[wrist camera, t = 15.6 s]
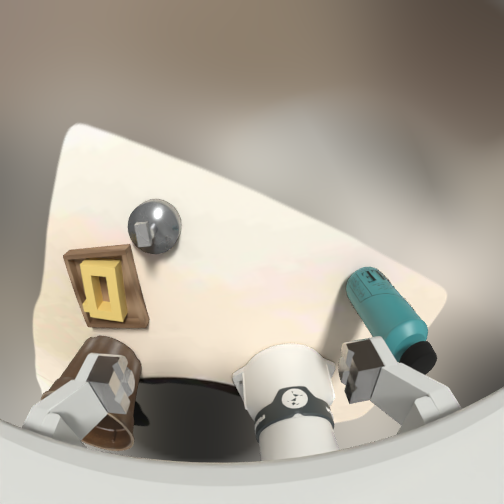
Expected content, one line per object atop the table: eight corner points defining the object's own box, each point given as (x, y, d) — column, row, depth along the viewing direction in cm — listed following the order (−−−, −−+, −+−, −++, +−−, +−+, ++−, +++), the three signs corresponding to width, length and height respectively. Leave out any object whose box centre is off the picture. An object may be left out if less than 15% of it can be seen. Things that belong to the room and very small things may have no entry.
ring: (121, 259, 39) (114, 267, 36) (127, 312, 42) (122, 321, 40) (82, 256, 38) (74, 263, 36) (91, 307, 42) (85, 316, 40)
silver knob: (184, 246, 39) (176, 266, 33) (137, 250, 39) (123, 269, 33) (177, 196, 36) (167, 208, 31) (128, 202, 36) (110, 215, 31)
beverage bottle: (345, 303, 44) (396, 398, 26) (337, 268, 42) (396, 362, 23) (381, 288, 44) (444, 373, 25) (376, 253, 41) (450, 334, 23)
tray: (149, 319, 44) (146, 327, 42) (92, 319, 43) (87, 327, 41) (130, 244, 39) (124, 250, 37) (69, 249, 38) (62, 255, 36)
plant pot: (148, 396, 52) (132, 460, 37) (77, 371, 49) (50, 429, 34) (157, 343, 46) (135, 418, 31) (73, 314, 43) (31, 376, 28)
